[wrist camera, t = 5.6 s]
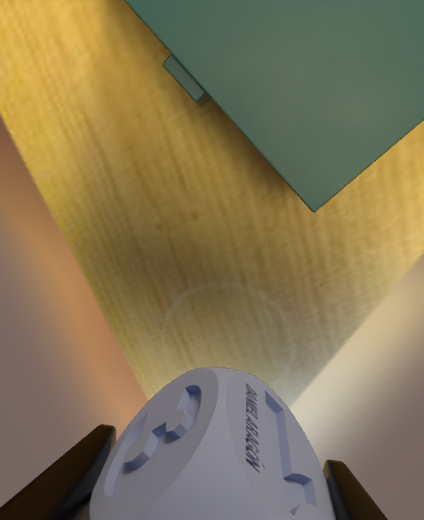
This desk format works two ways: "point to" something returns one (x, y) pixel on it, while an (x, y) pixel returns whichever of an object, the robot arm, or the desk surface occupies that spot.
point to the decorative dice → (213, 457)
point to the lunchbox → (301, 78)
